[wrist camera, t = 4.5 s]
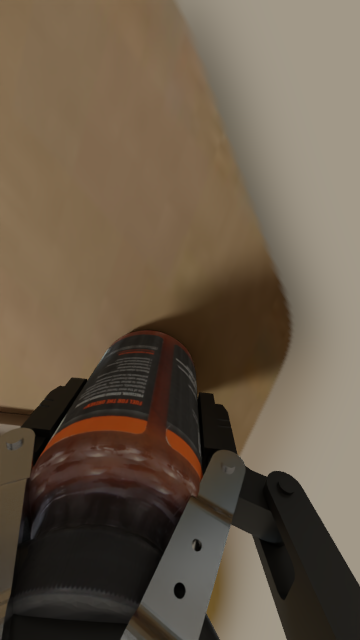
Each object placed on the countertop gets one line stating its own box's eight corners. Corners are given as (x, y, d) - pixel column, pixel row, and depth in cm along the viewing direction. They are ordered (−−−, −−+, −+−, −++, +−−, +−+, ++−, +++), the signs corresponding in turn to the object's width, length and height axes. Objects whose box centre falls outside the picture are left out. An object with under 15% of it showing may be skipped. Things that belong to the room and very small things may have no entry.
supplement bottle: (85, 359, 16) (-123, 624, 5) (157, 307, 14) (76, 522, 4) (144, 419, 17) (76, 717, 7) (213, 378, 16) (266, 668, 5)
